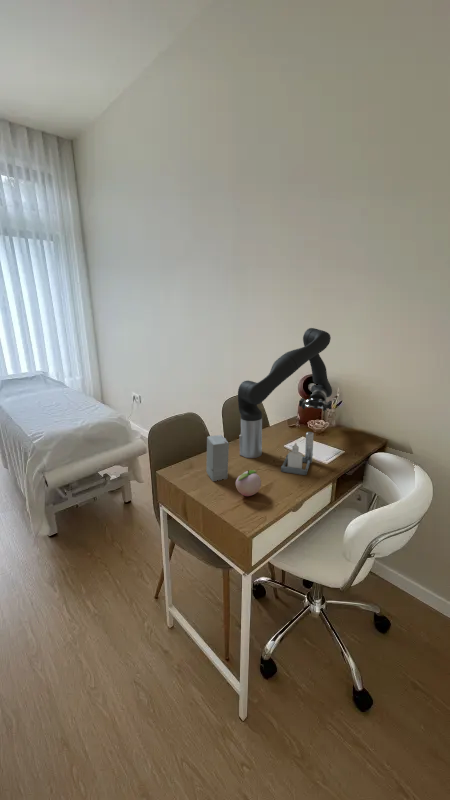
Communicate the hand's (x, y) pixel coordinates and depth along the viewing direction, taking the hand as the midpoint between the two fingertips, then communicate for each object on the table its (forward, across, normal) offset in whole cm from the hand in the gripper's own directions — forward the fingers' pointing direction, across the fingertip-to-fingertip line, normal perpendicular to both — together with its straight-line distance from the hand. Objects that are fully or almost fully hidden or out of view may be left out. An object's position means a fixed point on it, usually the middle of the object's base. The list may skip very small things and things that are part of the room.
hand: (313, 408), depth 150 cm
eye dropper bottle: (+20, -4, +21) cm, 30 cm away
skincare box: (+34, -32, +22) cm, 51 cm away
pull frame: (+17, -4, +21) cm, 27 cm away
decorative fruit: (+44, -16, +22) cm, 51 cm away
